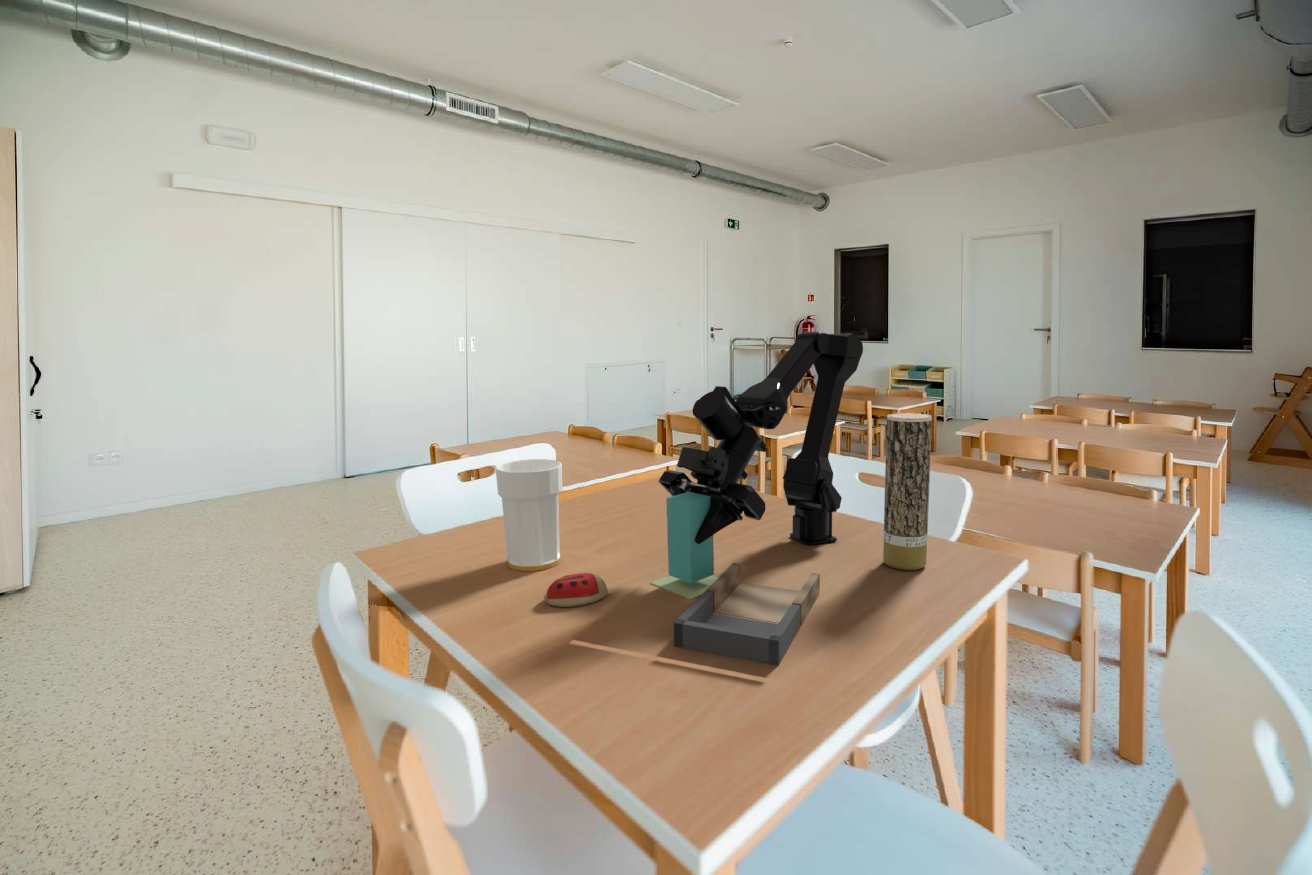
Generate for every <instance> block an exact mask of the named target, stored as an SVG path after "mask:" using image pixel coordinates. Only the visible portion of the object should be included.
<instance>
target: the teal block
mask: <svg viewBox="0 0 1312 875" xmlns="http://www.w3.org/2000/svg"><path fill="white" fill-rule="evenodd" d="M710 503H711V496H706V495H702V494H697V493H693V492H687V493H683V494H679V495H675V496H672V495H670V496H668V497H666V525H667V526H666V527H667V528H666V529H667V559H668V560H667V561H668V562H667V563H668V565H667V566H668V576H672V577H675V578H678V579H681V580H683V581H686V582H689V583H694V582H696V581H699V580H701V579H704V578H707V577H709V576H714V575H715V566H714V565H715V560H714V558H715V557H714V555H715V554H714V553H715V552H714V550H715V549H714V535H712V536H711V537H709V538H708V539H706V540H705V541H704V542H702V543H701V544H697V543H696V542H695V537H696V535H697V532H698V530H699V528H700V527H701V525H702V523H703V521H704V519H705V517H706V515H707V513H708V511H709V510H710Z"/></svg>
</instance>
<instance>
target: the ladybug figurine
mask: <svg viewBox="0 0 1312 875" xmlns="http://www.w3.org/2000/svg"><path fill="white" fill-rule="evenodd" d="M608 591H609V590H608V587H607V584H606V582H605V580H603V579H602V577H601V576H599V575H598V574H596V573H592V572H580V573H575V574H569V575H564V576H562V577H559V578H557V579H556V580H554V581H553V582H551V584H550V586H549V587H548V589H547V591H546V594H544V595H543V600H544V601H545V602H546V603H547V604H548V605H551V606H553V607H560V608H567V607H568V608H573V607H578V606H579V607H580V606H584V605H589V604H592V603H596V602H598V601H599V600H602V599H604V597H606V596H607V594H608Z"/></svg>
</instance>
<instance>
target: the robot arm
mask: <svg viewBox="0 0 1312 875" xmlns="http://www.w3.org/2000/svg"><path fill="white" fill-rule="evenodd" d="M863 351H864V345H863V343H862V340H860V338H859V336H857V334H855V333H826V332H823V331H803V332H801V333H799V334H797V336H796V337H795V342H794V343H793V344H792V346H791V347H789V349H788V350H787V351H786V353H785V354H784V355H783V356H782V358H781V359H780V360H779V362H778V363H777V364H776V365H775V366H774V368H772V369H771V371H770V373H768V375H767V376H766V377H764V379H763V380H762V381H760V382H758V383H756V384H753V385H750V386H749V387H748V388H747V389H746V390H744V391H743V392H742V393H741V394H740V395H739V396H738V397H737V399H736V400H735V399H734V398H733V396H732V394H731V393H730V391H729V389H728V388H727V386H719V385H717V386H715V387H714V388H713V390H712V391H710V392H707V393H706V394H703V395H702V396H701V397H700V398H699V399H697V400H696V401H695V402H694V404H693V406H692V415H693V416H694V418H695V419H696V420H697V421H698V422H699V424H700V425H701V426H702V427H703V428H704V430H705V431H706V432H707V433H708V435H709V436H710V437H711V438H712V439H713V440H716V441H719V443H718V444H717V446H716V447H713V446H711V447H710V448H709V449H708V450H705V449H704V450H703V449H699V448H692V447H687V446H682V447H681V450H680V454H679V457H678V461H677V464H676V467H678V468H683V469H686V470H688V471H690V472H691V473H689V474H690V475H691V477H692V478H693V479H695V480H696V482H693V481H692V480H691V478H690V477H689V476H687V474H685V472H684V471H683V472H681V471H677V470H672V469H667V470H664V471H663V472H662V475H661V476H660V478H659V480H658V483H659V484H660V486H662V487H663V488H664V489H665V490H666V491H667V492H668V493H669V494H670V496H675V495H679V494H683V493H687V492H693V493H697V494H702V495H706V496H711V503H710V510H709V511H708V513H707V515H706V517H705V519H704V521H703V523H702V525H701V527H700V528H699V530H698V532H697V535H696V537H695V542H696V543H697V544H701V543H702V542H704V541H705V540H706V539H708V538H709V537H711V536H712V535H713V536H714V535H716V534H717V533H718V532H720V531H721V530H723V529H724V528H726V527H728V526H730V525H731V524H733V523H736V521H737V522H738V521H743V519H744V517H745V518H748V519H752V520H755V521H756V520H757V521H760V520H762V518H763V516H764V514H765V513H766V502H765V501H764V499H763V498H762V497H761V496H760V494H759V493H758V492H757V491H756V490H755V488H753V486H752V485H748V484H743V483H738V482H739V481H740V480H746V479H747V477H748V476H749V474H748V473H747V471H746V468H747V466H748V465H749V463H750V461H751V459H752V458H753V456H754V454H755V452H762V453H765V452H767V443H766V442H765V436H764V435H762V434H759V433H758V432H757V431H756V429H762V430H774V429H776V428H777V427H778V426H779V425H780V423H781V421H782V419H783V418H784V417H785V414H786V412H787V410H788V398H789V396H790V395H791V393H792V392H793V391H794V390H795V388H796V387H797V386H798V385H799V383H800V382H801V381H802V379H803V378H804V377H805V376H806V374H807V373H808V372H809V370H810V369H811V368H812V367H814V369H815V372H816V375H817V380H816V385H815V389H814V393H813V397H812V398H813V399H812V403H811V407H810V411H809V415H808V420H807V425H806V429H805V433H804V436H803V437H804V438H803V442H802V447H801V451H800V452H799V453H798V454H797V455H796V457H789V458H788V460H787V461H786V467H785V471H784V474H783V477H782V480H783V485H782V486H783V487H782V488H783V490H784V491H783V492H784V495H785V498H786V502H787V505H788V506H790V507H791V506H793V507H794V515H792V532H790V533H789V536H790V537H791V538H793V539H795V540H796V541H798V542H801V543H802V544H804V545H806V546H811V545H817V544H824V543H825V544H826V543H830V542H831V543H832V542H836V541H837V540H838V538H837V537H836V536H833V513H836V512H838V509H840V508H841V503H842V496H841V494H840V493H839V492H838V490H837V488H836V486H834V485H833V479H834V472H833V468H832V466H831V463H830V460H829V454H830V450H831V446H832V441H833V436H834V432H835V428H836V424H837V418H838V414H839V411H840V410H839V409H840V406H841V401H842V397H843V392H844V388H845V383H846V382H847V381H848V380H849V379H850V378H851V377H852V376H853V374H854V373H855V372H856V371H857V369H858V366H859V363H860V361H861V358H862V355H863ZM742 514H743V515H744V517H743V516H742Z"/></svg>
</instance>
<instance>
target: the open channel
mask: <svg viewBox="0 0 1312 875" xmlns="http://www.w3.org/2000/svg"><path fill="white" fill-rule="evenodd" d="M741 565H742V564H741V563H739V562H738V563H737V562H733V563H732V564H730V566H728V568H727V569H725V571H724V572H722V574H720V575H719V577H718V579H717V580H716V581H715V582H714V583H713V584H712V585H711V586H710V587H709V588H708V589H707V590H706V592H713V614H719V615H725V616H732V617H738V618H744V619H750V620H756V621H763V622H769V623H775V624H779V622H780V621H781V619H782V618H783V616H784V615H785V613H786V612H787V610H788V609H789V607H790V605H791V604H794V605H800V628H802V625H803V624H804V622H805V620H806V618H808V615H809V613H810V612H811V610H812V608H813V606H814V605H815V603H816V601H817V600H818V598H819V596H820V590H821V589H820V588H821V587H820V583H821V582H820V581H821V580H820V579H821V576H820V575H821V574H820V573H817V572H811V573H810V574H809V576H808V578H807V579H806V580H805V582H804V584H803V585H802V587H801V588H800V590H797V589H796V590H795V589H788V588H780V587H775V586H774V587H773V586H765V585H760V584H751V583H745V582H742V581H741V580H742V572H741V571H742V568H741V567H742V566H741Z"/></svg>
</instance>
